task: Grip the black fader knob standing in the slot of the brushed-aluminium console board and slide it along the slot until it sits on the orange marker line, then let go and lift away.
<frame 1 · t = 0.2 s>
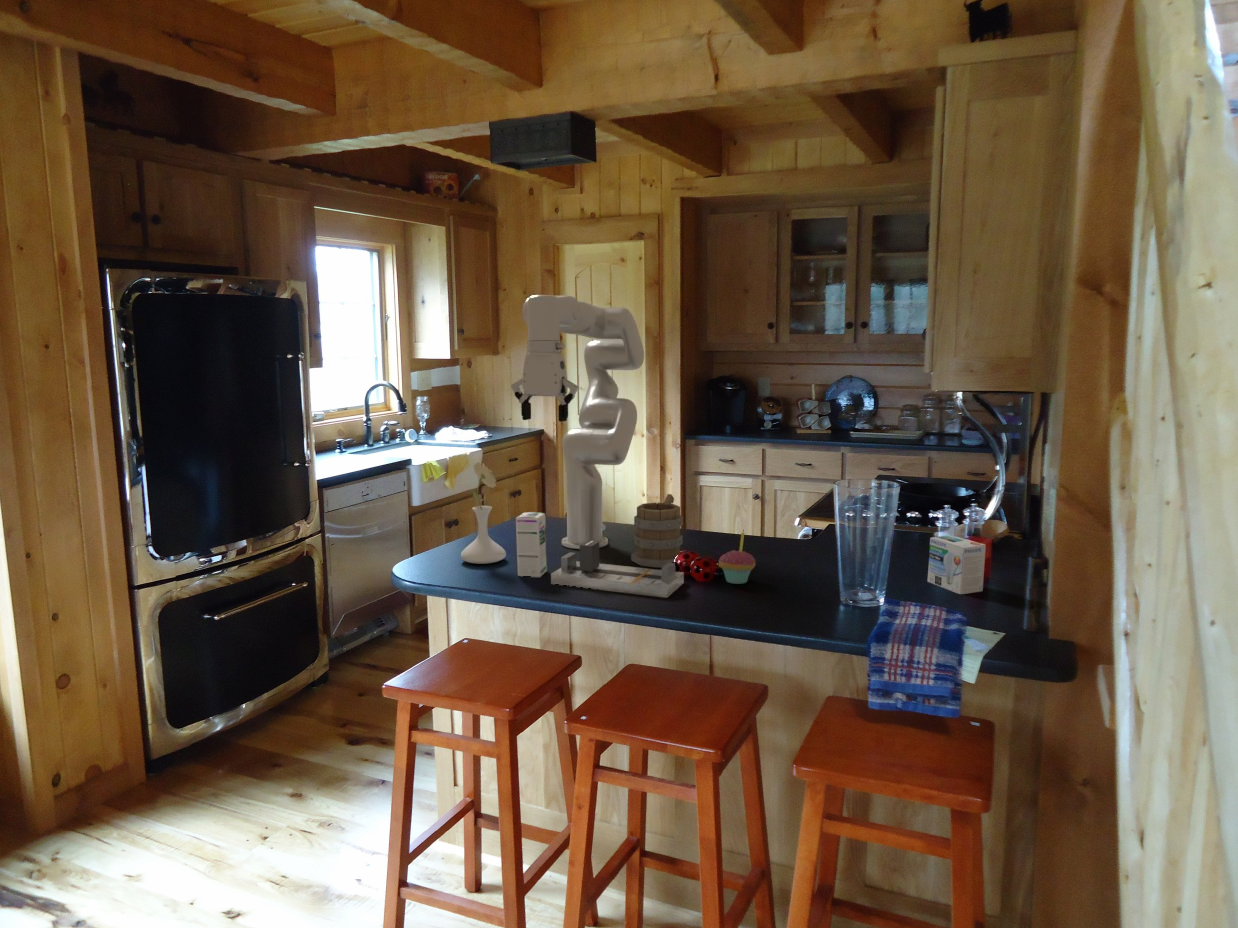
hand: (544, 420, 209), 36 cm above the countertop, tool pointing down, fingers open, 9 cm apart
syrup box: (532, 574, 209), on the countertop
fader: (589, 555, 203), point 6 cm above the countertop, slide at -7.0 cm
console board: (617, 583, 201), on the countertop
tankard: (662, 557, 224), on the countertop
light bulb box: (954, 587, 199), on the countertop
flower in vase: (483, 561, 221), on the countertop
cupcake: (736, 581, 203), on the countertop
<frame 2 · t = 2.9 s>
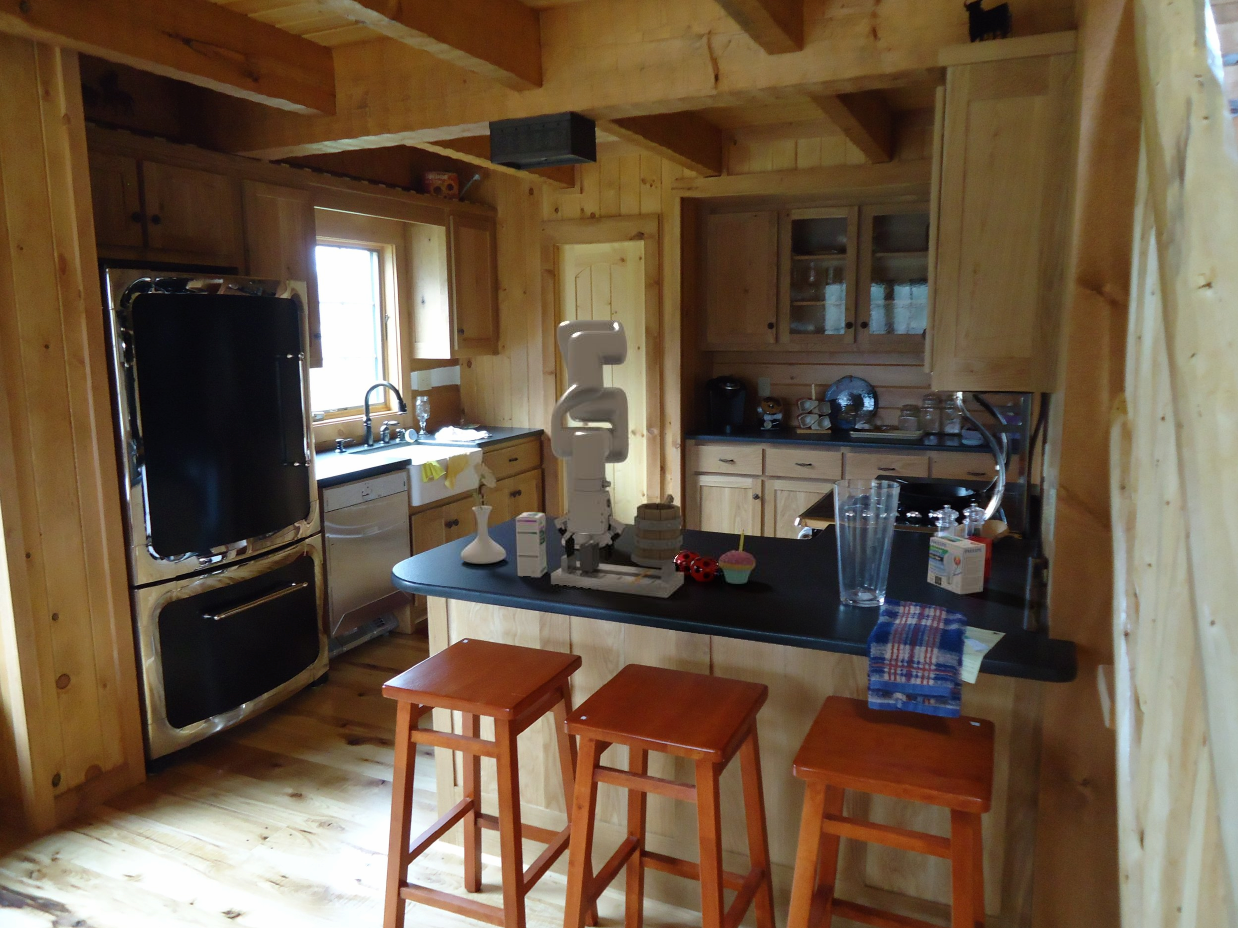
hand: (589, 557, 202), 5 cm above the countertop, tool pointing down, fingers open, 9 cm apart
nothing on the countertop moved.
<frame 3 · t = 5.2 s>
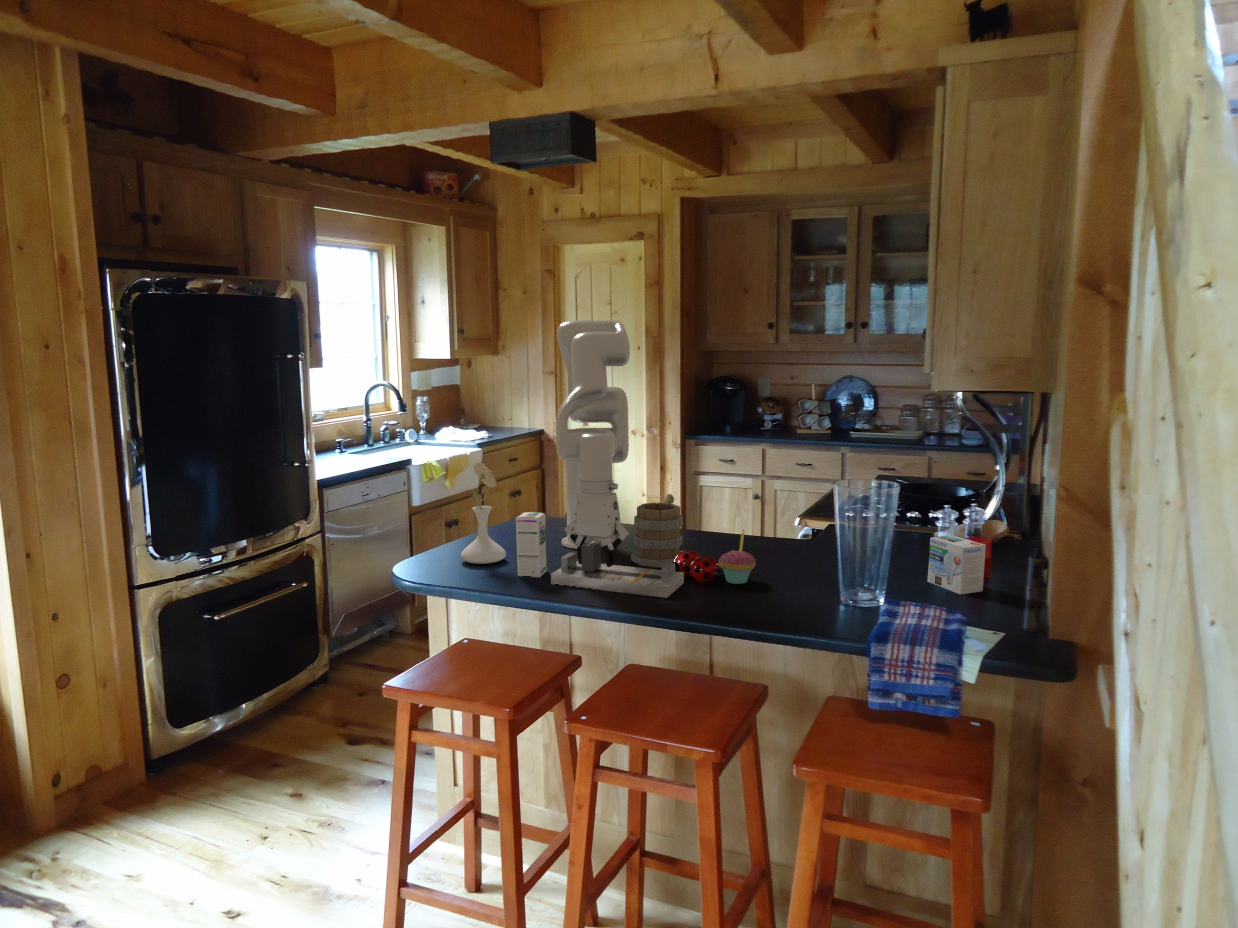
hand: (596, 563, 201), 4 cm above the countertop, tool pointing down, fingers open, 6 cm apart
fader: (591, 555, 203), point 6 cm above the countertop, slide at -6.4 cm, touching gripper
everything else where it was.
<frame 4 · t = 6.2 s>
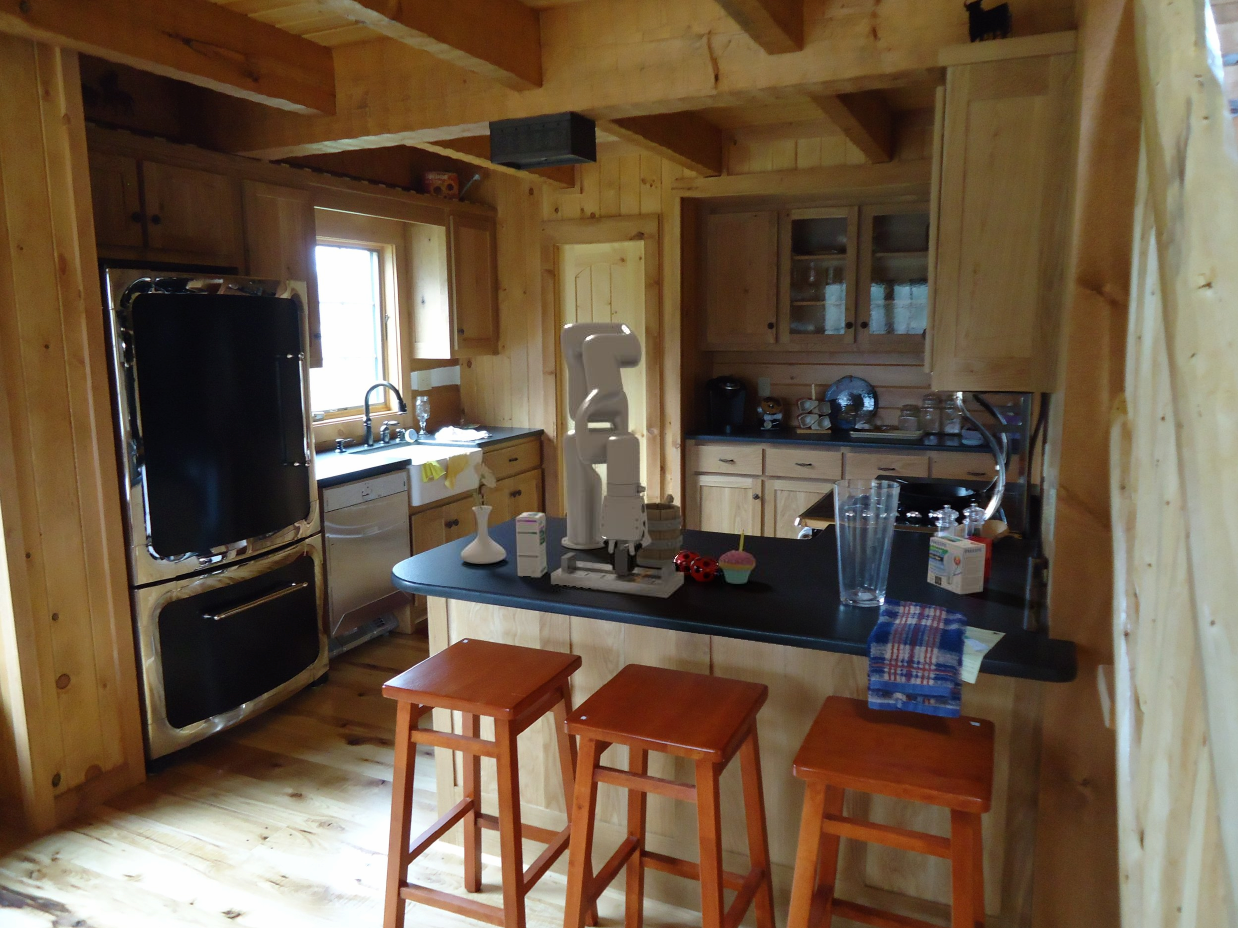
hand: (623, 569, 199), 4 cm above the countertop, tool pointing down, fingers closed on fader, 3 cm apart
fader: (624, 559, 199), point 6 cm above the countertop, slide at 1.7 cm, touching gripper
everything else where it was.
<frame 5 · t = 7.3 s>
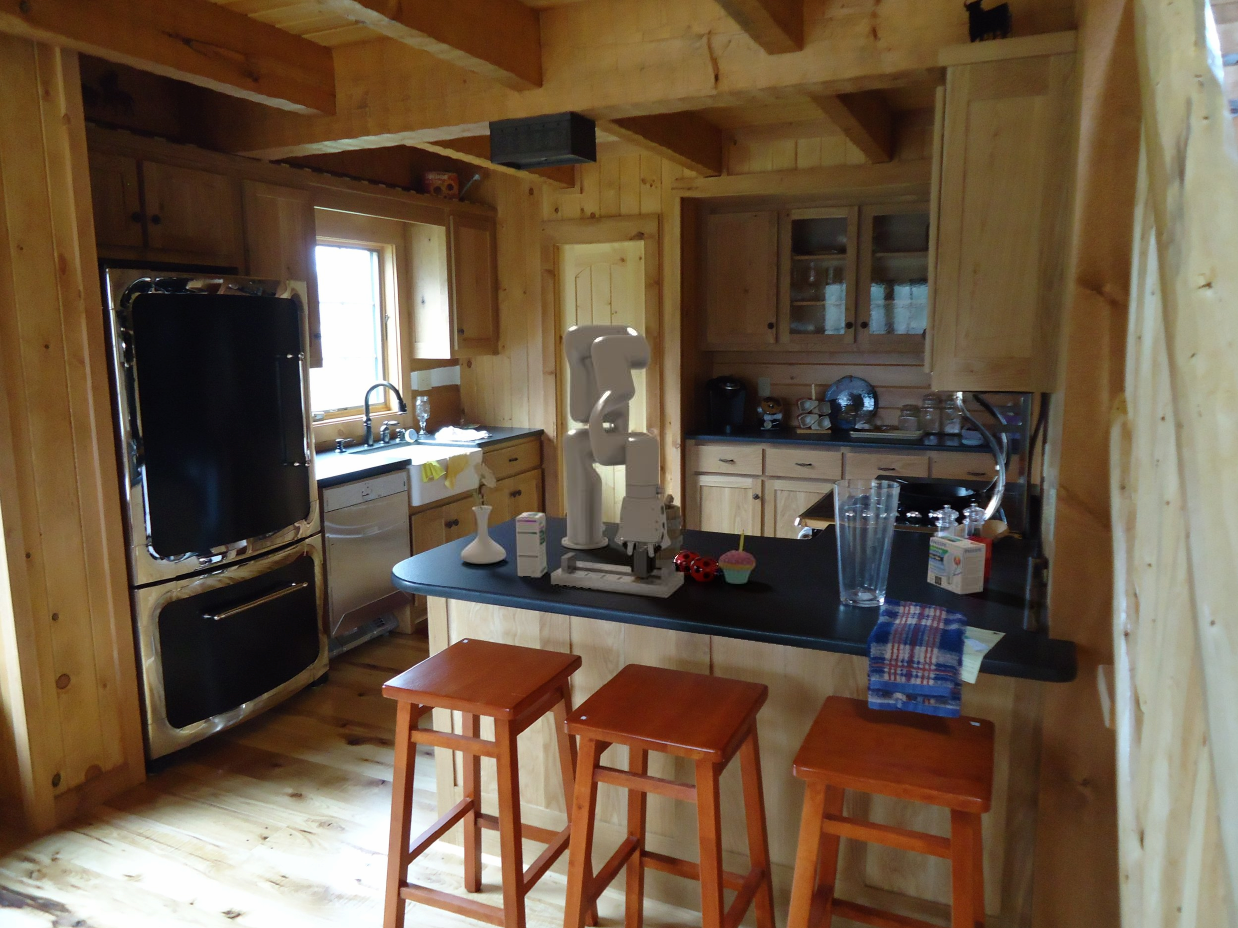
hand: (642, 571, 198), 4 cm above the countertop, tool pointing down, fingers closed on fader, 3 cm apart
fader: (643, 561, 198), point 6 cm above the countertop, slide at 6.3 cm, touching gripper
everything else where it was.
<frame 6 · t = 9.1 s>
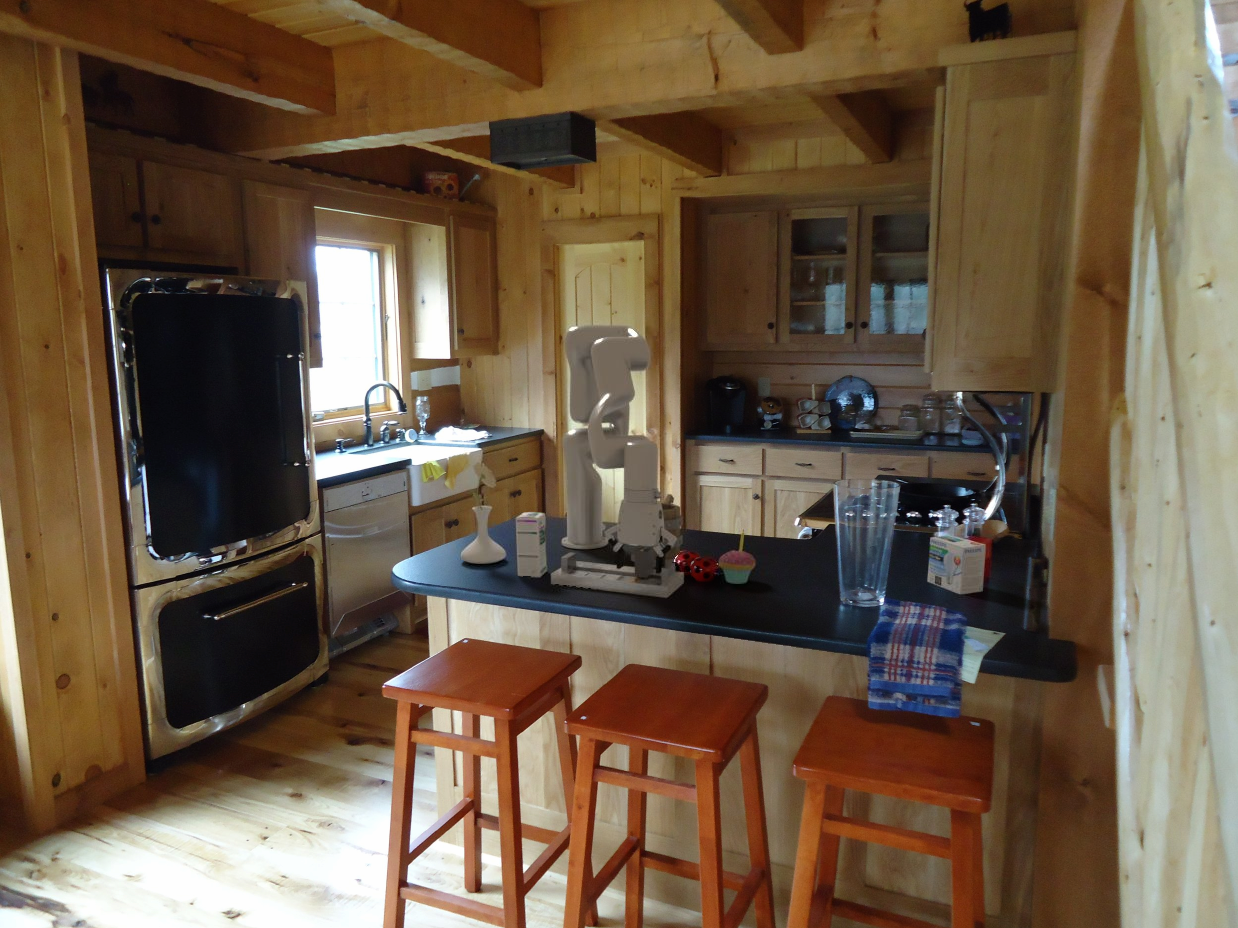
hand: (639, 569, 199), 4 cm above the countertop, tool pointing down, fingers open, 9 cm apart
fader: (644, 561, 198), point 6 cm above the countertop, slide at 6.6 cm
everything else where it was.
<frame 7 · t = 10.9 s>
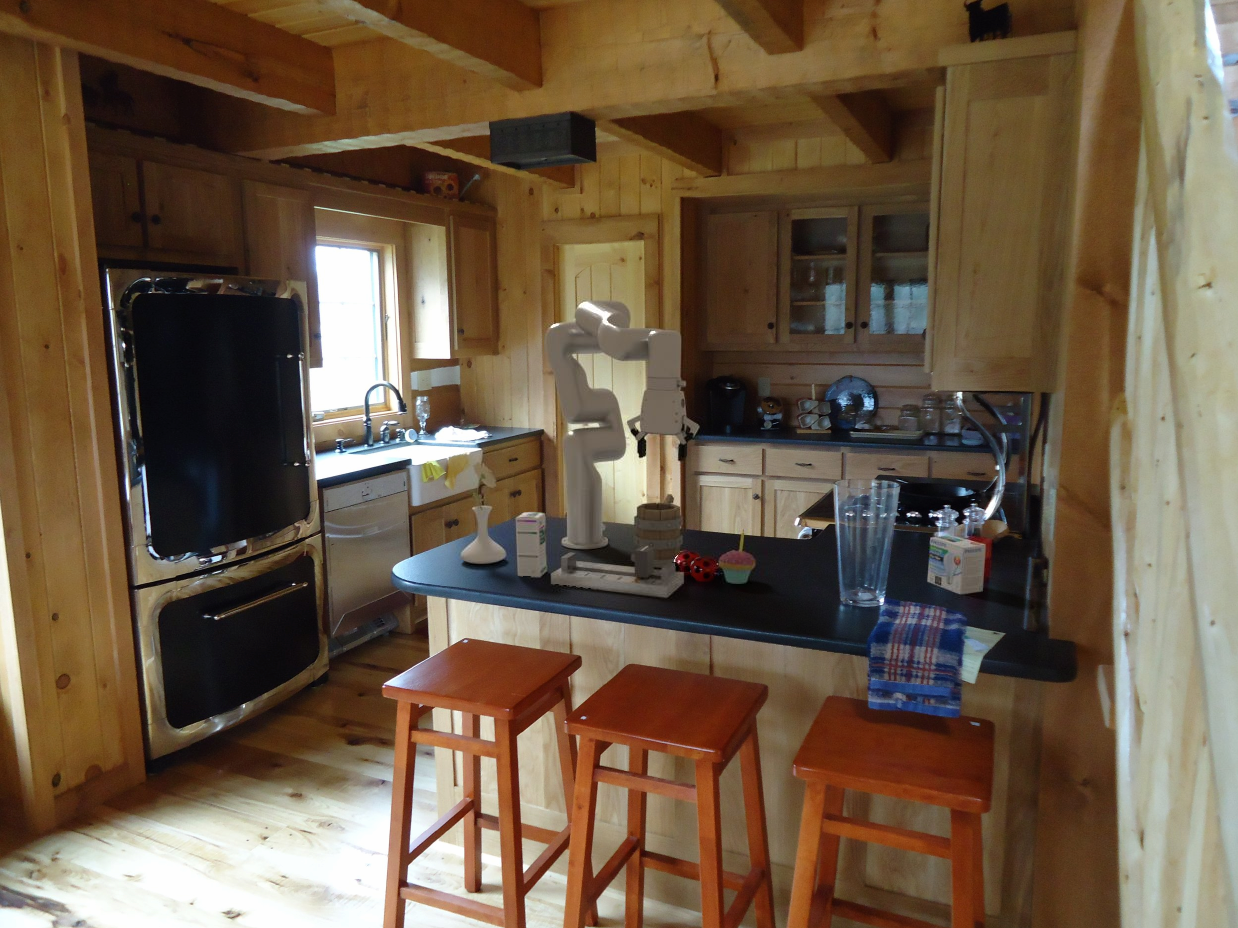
hand: (661, 458, 203), 28 cm above the countertop, tool pointing down, fingers open, 9 cm apart
nothing on the countertop moved.
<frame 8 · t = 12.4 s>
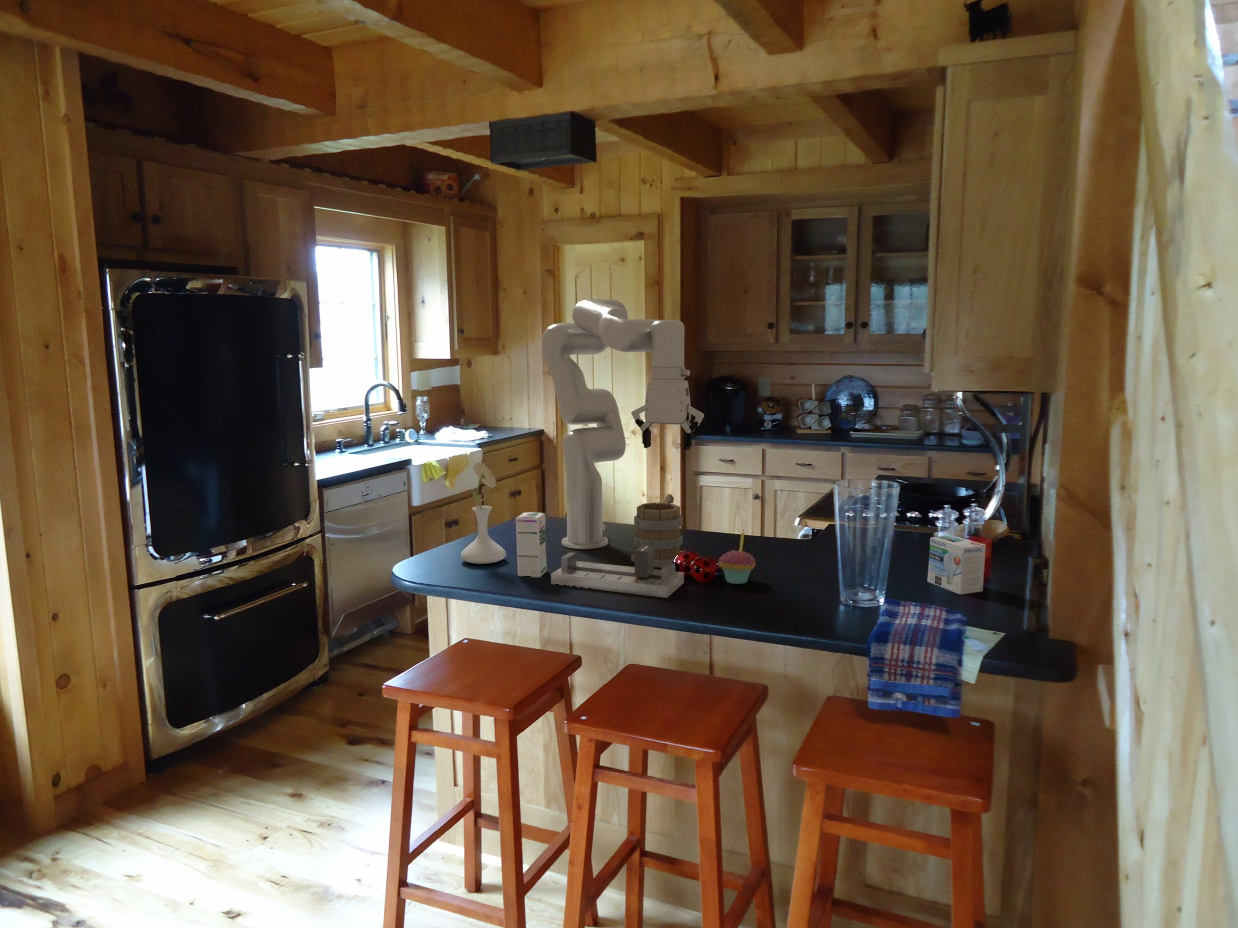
hand: (666, 448, 203), 30 cm above the countertop, tool pointing down, fingers open, 9 cm apart
nothing on the countertop moved.
at the end: fader slide at 6.6 cm; the gripper is holding nothing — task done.
